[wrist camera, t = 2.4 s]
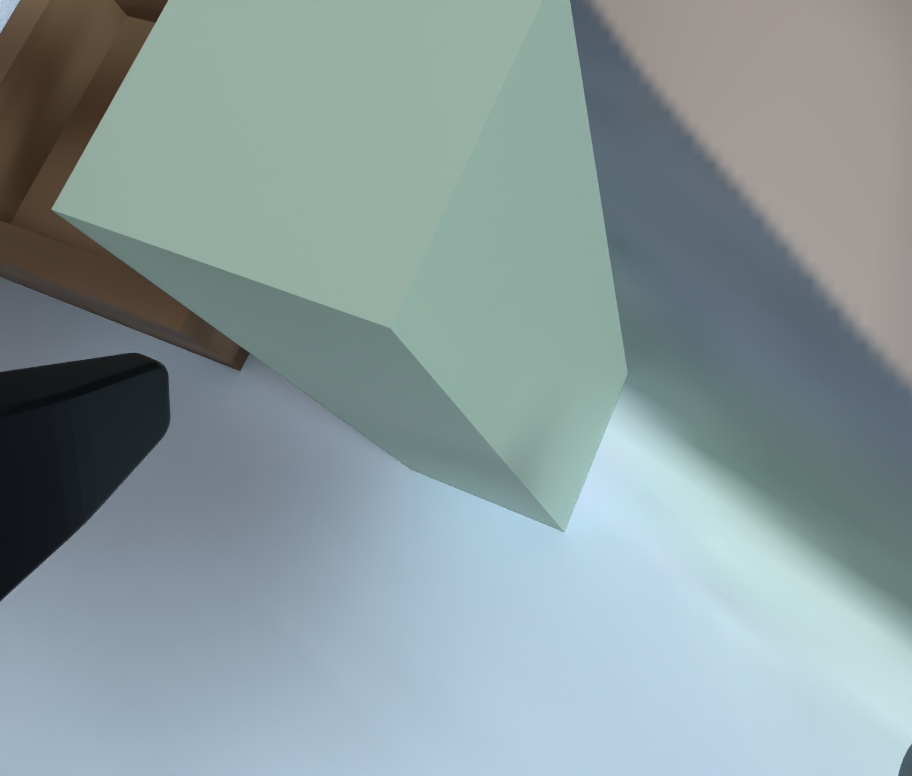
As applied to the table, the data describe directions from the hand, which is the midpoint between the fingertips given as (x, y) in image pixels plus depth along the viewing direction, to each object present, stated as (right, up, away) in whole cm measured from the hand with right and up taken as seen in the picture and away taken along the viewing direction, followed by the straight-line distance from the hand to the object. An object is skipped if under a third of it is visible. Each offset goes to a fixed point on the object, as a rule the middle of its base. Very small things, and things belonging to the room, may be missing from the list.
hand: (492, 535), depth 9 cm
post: (+1, +1, +11) cm, 11 cm away
